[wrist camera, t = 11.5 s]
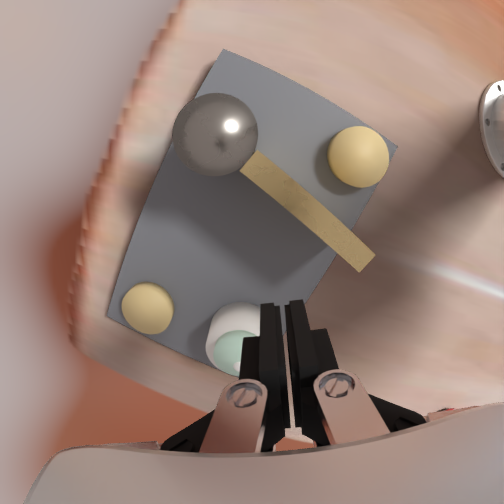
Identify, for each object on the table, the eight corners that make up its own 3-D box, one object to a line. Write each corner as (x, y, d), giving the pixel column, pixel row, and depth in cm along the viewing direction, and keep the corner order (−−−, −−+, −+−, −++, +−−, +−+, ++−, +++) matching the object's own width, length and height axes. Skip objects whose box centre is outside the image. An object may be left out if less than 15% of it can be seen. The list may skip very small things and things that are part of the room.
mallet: (183, 145, 23) (156, 143, 16) (221, 97, 22) (208, 77, 15) (321, 255, 26) (341, 291, 19) (359, 213, 25) (392, 235, 18)
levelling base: (225, 55, 22) (215, 27, 16) (388, 146, 25) (425, 147, 18) (113, 306, 31) (86, 341, 24) (249, 370, 33) (248, 414, 26)
